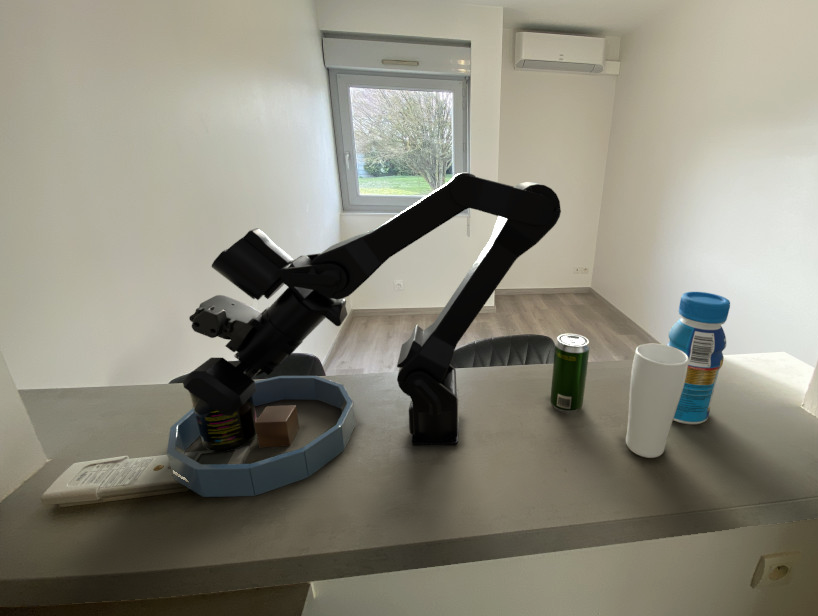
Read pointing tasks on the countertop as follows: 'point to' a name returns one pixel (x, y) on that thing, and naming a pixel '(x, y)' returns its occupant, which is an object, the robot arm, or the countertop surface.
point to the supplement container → (226, 425)
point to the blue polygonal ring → (275, 469)
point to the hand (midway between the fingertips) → (214, 397)
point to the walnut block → (277, 426)
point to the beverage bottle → (699, 351)
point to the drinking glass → (654, 397)
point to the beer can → (569, 372)
